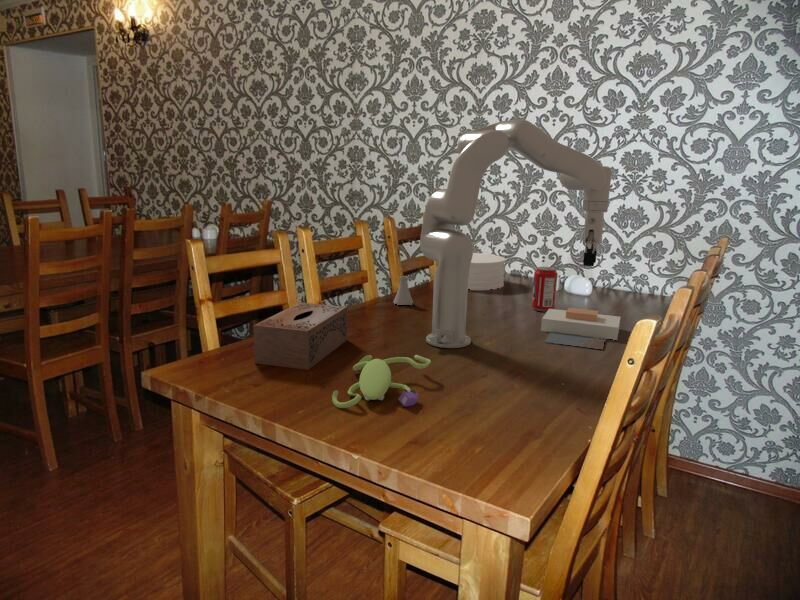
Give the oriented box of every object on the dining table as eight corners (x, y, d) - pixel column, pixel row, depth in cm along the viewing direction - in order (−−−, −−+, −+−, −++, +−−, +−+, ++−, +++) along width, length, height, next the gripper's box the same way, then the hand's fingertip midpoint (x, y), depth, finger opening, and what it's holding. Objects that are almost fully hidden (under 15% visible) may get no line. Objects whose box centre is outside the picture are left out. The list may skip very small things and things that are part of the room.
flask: (416, 304, 206) (417, 276, 204) (406, 307, 200) (407, 279, 198) (400, 301, 210) (400, 274, 208) (389, 304, 204) (389, 277, 202)
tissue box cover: (308, 370, 138) (307, 331, 135) (254, 364, 141) (253, 325, 139) (347, 340, 162) (347, 306, 159) (300, 335, 166) (300, 302, 163)
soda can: (545, 313, 196) (549, 270, 193) (527, 309, 202) (530, 267, 199) (558, 310, 202) (562, 268, 198) (540, 306, 207) (543, 265, 204)
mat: (603, 350, 157) (603, 349, 157) (544, 342, 164) (544, 341, 163) (606, 339, 168) (606, 338, 168) (550, 332, 174) (550, 331, 174)
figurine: (432, 373, 139) (433, 351, 137) (415, 418, 113) (416, 392, 112) (359, 366, 142) (359, 345, 141) (326, 409, 116) (326, 383, 115)
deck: (616, 340, 167) (618, 327, 166) (540, 331, 175) (541, 318, 174) (619, 329, 180) (620, 316, 179) (548, 320, 188) (549, 308, 187)
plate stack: (434, 288, 234) (435, 260, 231) (441, 276, 261) (442, 251, 258) (504, 292, 230) (505, 264, 227) (503, 279, 256) (505, 254, 254)
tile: (596, 321, 172) (596, 315, 172) (565, 318, 175) (566, 311, 175) (597, 317, 177) (598, 310, 177) (568, 313, 181) (568, 307, 180)
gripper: (606, 209, 168) (599, 269, 172) (609, 205, 183) (603, 261, 187) (579, 207, 171) (573, 267, 175) (585, 204, 186) (580, 259, 190)
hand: (589, 263), depth 181 cm, fingers open, 6 cm apart
